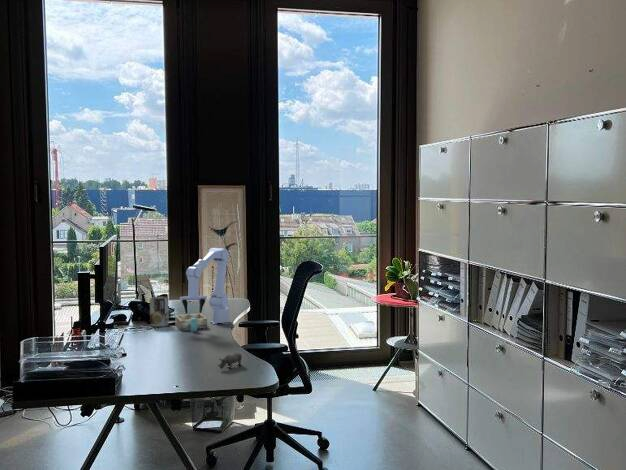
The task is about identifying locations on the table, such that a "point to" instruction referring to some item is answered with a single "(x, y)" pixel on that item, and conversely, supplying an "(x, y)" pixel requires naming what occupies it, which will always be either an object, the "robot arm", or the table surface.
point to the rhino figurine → (230, 360)
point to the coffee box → (159, 311)
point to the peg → (193, 324)
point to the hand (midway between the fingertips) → (193, 313)
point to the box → (184, 321)
